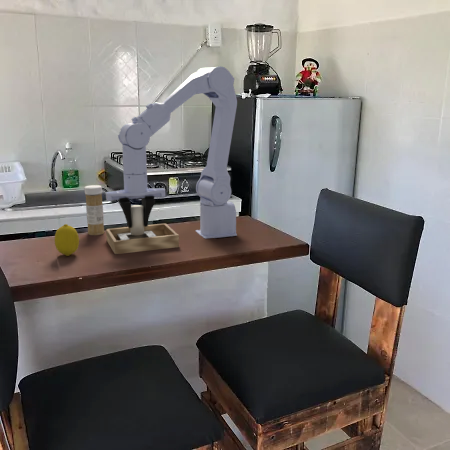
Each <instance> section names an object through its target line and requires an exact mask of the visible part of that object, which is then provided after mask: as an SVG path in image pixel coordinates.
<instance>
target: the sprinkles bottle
mask: <svg viewBox="0 0 450 450" xmlns="http://www.w3.org/2000/svg"><path fill="white" fill-rule="evenodd" d="M84 194H85V203H86V204H85V209H86V220H87V221H86V222H87V234H88V235H89V236H100V235H103V234H105V233H106V231H105V225H104V221H105V220H104V219H105V218H104V217H105V216H104V207H103V205H104V204H103V196H102V195H103V188H102V185H99V184H95V185H94V184H91V185H86V186H84Z"/></svg>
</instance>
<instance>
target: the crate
mask: <svg viewBox="0 0 450 450" xmlns="http://www.w3.org/2000/svg"><path fill="white" fill-rule="evenodd" d="M150 230H151V231H152V232H153V233H154V234H155V235H156V236H157V237H147V238H137V239H128V240H118V241H117V234H120V233H130V232H131V229H130V228H128V226H123V227H114V228H107V229H106V230H105V233H106V234H105V235H106V242H107V244H108V245H109V247H110V249H111V250H112V252H113V253H114V255H122V254H131V253H137V252H146V251H155V250H165V249H172V248H174V249H175V248H180V235H179V234H178V233H177V232H176V231H175V230H174V229H173V228H172V227H170V226H169V225H168V224H167V223H157V224H148V226H147V227H145V226H144V231H150Z"/></svg>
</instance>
